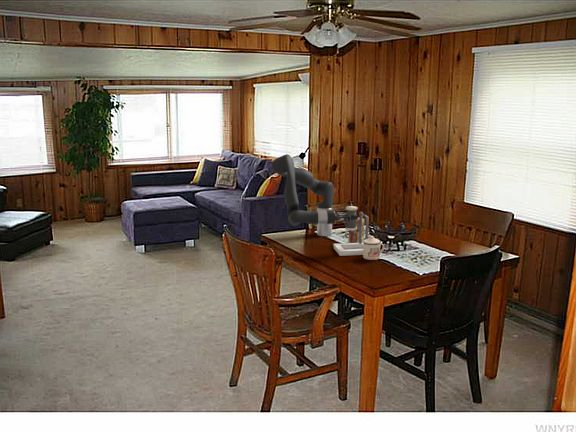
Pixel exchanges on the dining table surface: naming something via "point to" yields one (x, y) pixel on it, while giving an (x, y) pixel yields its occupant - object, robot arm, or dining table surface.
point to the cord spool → (352, 223)
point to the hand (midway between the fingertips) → (355, 216)
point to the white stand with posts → (353, 247)
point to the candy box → (356, 233)
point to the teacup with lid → (372, 248)
